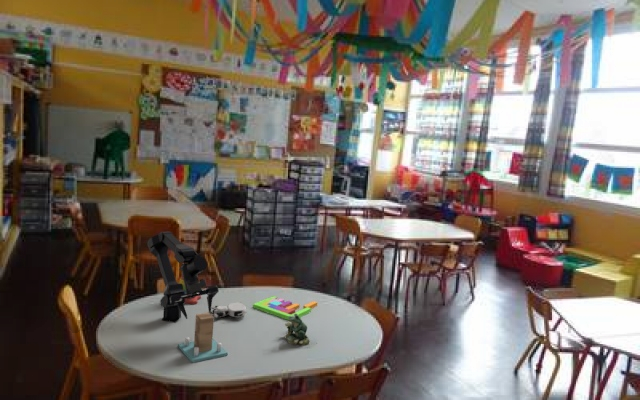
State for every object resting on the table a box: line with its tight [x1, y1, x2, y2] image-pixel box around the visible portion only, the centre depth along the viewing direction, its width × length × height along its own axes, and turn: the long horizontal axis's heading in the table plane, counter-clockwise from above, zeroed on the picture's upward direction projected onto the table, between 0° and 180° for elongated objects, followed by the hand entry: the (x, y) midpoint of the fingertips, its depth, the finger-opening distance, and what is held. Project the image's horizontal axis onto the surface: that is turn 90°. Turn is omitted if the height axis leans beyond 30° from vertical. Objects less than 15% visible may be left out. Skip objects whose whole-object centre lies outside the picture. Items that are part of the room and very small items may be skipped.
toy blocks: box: [252, 295, 318, 321], centre depth 245 cm, size 23×2×25 cm
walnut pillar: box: [193, 312, 215, 352], centre depth 191 cm, size 5×5×13 cm
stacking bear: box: [178, 275, 202, 305], centre depth 241 cm, size 11×10×18 cm
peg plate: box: [177, 336, 229, 364], centre depth 192 cm, size 14×14×4 cm
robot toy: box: [211, 301, 247, 319], centre depth 228 cm, size 12×4×15 cm
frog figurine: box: [284, 314, 318, 349], centre depth 209 cm, size 18×18×12 cm
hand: (198, 315), depth 200 cm, fingers open, 9 cm apart
